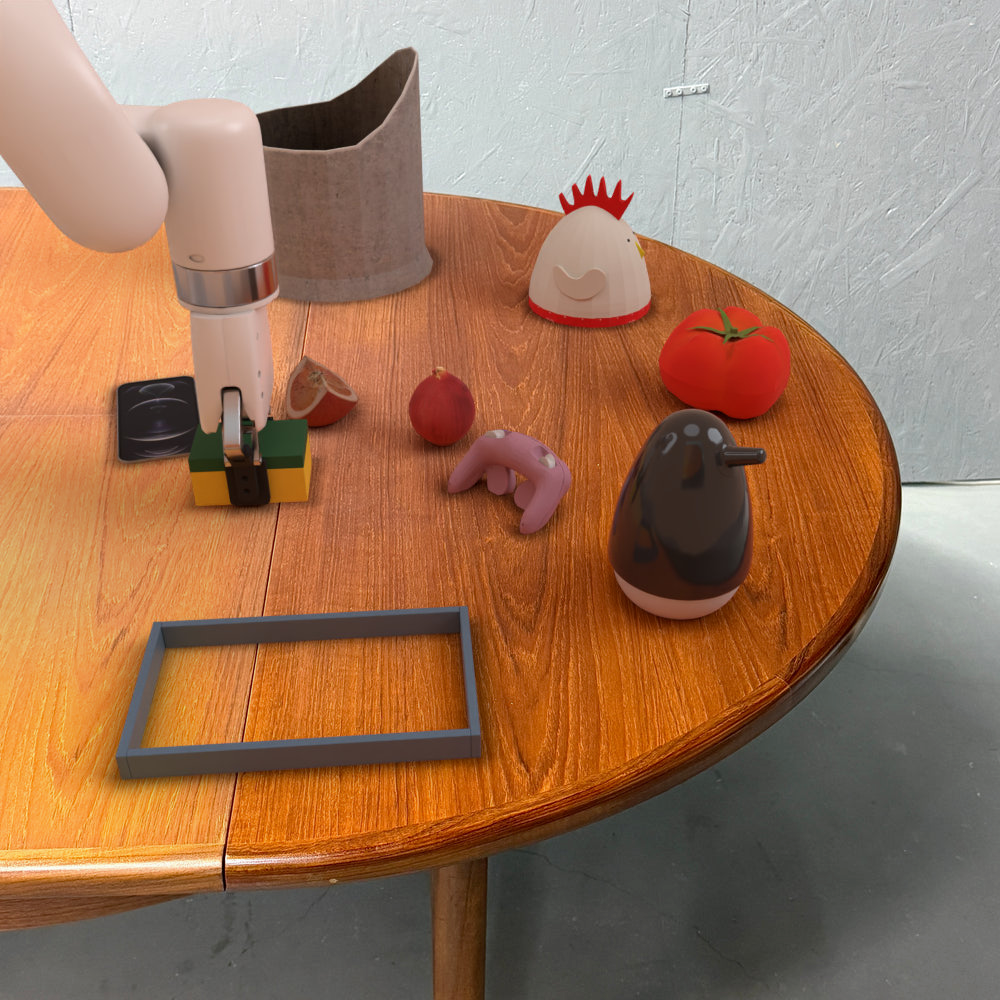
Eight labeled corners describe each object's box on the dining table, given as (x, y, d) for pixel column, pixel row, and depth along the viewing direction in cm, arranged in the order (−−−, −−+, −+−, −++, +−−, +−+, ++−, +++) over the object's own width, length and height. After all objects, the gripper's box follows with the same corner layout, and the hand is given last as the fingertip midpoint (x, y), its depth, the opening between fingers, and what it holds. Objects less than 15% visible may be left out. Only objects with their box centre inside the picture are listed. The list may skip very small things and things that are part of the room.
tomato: (637, 380, 108) (644, 300, 103) (754, 369, 110) (765, 290, 105) (681, 442, 98) (690, 357, 93) (808, 429, 100) (824, 345, 95)
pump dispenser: (698, 663, 73) (726, 472, 64) (576, 599, 78) (586, 417, 70) (772, 592, 79) (806, 411, 71) (654, 538, 85) (672, 364, 76)
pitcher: (452, 295, 126) (447, 70, 112) (173, 324, 118) (131, 87, 105) (413, 230, 144) (405, 30, 130) (169, 252, 137) (133, 42, 123)
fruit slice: (278, 405, 103) (272, 357, 100) (346, 393, 105) (342, 346, 102) (298, 446, 97) (292, 397, 94) (370, 432, 99) (366, 384, 96)
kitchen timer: (634, 339, 116) (645, 202, 108) (513, 322, 119) (514, 188, 111) (660, 292, 127) (671, 164, 119) (548, 278, 130) (551, 153, 122)
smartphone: (117, 463, 92) (115, 383, 104) (119, 471, 93) (117, 391, 105) (205, 450, 94) (194, 374, 106) (207, 459, 95) (196, 382, 107)
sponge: (196, 512, 88) (187, 459, 85) (207, 473, 93) (198, 422, 90) (308, 507, 88) (302, 455, 86) (312, 469, 93) (307, 418, 91)
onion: (433, 424, 100) (431, 346, 96) (487, 440, 98) (487, 360, 93) (398, 452, 96) (394, 371, 91) (453, 469, 93) (451, 387, 89)
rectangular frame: (123, 786, 63) (115, 757, 62) (159, 649, 74) (153, 621, 72) (481, 764, 65) (480, 734, 64) (468, 633, 75) (467, 605, 74)
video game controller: (559, 540, 87) (588, 460, 86) (524, 540, 84) (554, 457, 82) (474, 493, 93) (500, 418, 91) (438, 491, 89) (465, 412, 88)
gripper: (192, 238, 87) (222, 431, 97) (154, 326, 73) (194, 542, 83) (286, 235, 88) (306, 428, 97) (266, 322, 73) (293, 538, 83)
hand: (255, 478), depth 90 cm, fingers open, 6 cm apart
